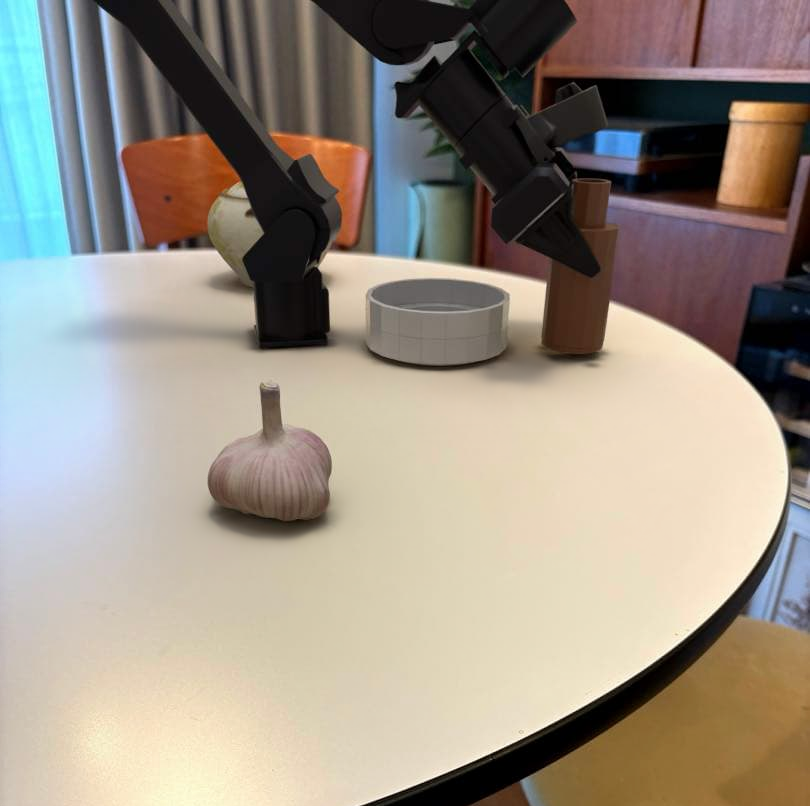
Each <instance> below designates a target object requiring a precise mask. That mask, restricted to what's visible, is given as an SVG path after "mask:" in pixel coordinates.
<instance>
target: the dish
mask: <svg viewBox="0 0 810 806" xmlns="http://www.w3.org/2000/svg"><path fill="white" fill-rule="evenodd" d="M510 303H511V299H510V293H509V292H507V291H506V290H505V289H503V288H501V287H498V286H496V285H494V284H493V285H492V284H490V283H485V282H480V281H475V280H469V279H461V278H460V279H459V278H450V277H449V278H448V277H447V278H443V277H422V278H420V277H419V278H418V277H417V278H405V279H398V280H397V279H396V280H391V281H388V282H383V283H379V284H376V285H374V286H373V287H370V288H368V290H367V291H366V293H365V344H366V345H367V348H368V349H369V350H370V351H371V352H374V353H375V354H377V355H379V356H381V357H385V358H387V359H390V360H395V361H398V362H402V363H407V364H412V365H419V366H430V367H431V366H432V367H434V366H435V367H446V366H447V367H448V366H450V367H451V366H460V365H467V364H472V363H476V362H482V361H486V360H489V359H492V358H494V357H496V356H499V355H501V354H502V353H503V352H504V351H505V350H506V349H507V345H508V329H509V317H510Z"/></svg>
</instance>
